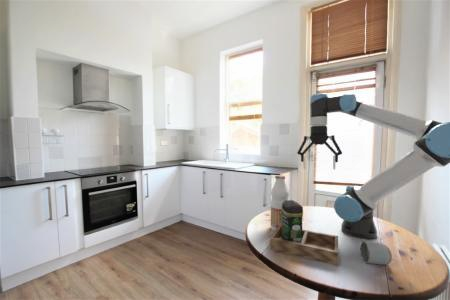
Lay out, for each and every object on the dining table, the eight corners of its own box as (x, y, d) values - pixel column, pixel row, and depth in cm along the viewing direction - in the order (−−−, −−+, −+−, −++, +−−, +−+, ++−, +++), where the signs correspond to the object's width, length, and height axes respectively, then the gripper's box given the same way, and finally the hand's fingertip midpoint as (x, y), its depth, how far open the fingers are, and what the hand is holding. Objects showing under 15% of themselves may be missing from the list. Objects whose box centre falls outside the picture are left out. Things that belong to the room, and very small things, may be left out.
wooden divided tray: (337, 247, 93) (338, 235, 93) (338, 265, 80) (338, 252, 80) (278, 235, 105) (278, 225, 105) (269, 249, 92) (270, 238, 91)
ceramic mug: (393, 269, 78) (393, 248, 78) (368, 267, 79) (369, 246, 79) (376, 254, 88) (376, 235, 88) (355, 252, 89) (355, 234, 89)
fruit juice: (267, 230, 111) (267, 176, 110) (274, 224, 119) (275, 173, 117) (285, 234, 106) (285, 178, 104) (291, 228, 113) (292, 175, 112)
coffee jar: (279, 238, 99) (279, 199, 98) (295, 238, 100) (296, 198, 99) (286, 249, 90) (287, 205, 89) (305, 248, 90) (306, 205, 89)
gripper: (346, 125, 105) (346, 168, 106) (293, 127, 115) (293, 167, 116) (348, 124, 98) (348, 170, 99) (291, 126, 108) (292, 168, 109)
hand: (318, 168), depth 108 cm, fingers open, 13 cm apart
